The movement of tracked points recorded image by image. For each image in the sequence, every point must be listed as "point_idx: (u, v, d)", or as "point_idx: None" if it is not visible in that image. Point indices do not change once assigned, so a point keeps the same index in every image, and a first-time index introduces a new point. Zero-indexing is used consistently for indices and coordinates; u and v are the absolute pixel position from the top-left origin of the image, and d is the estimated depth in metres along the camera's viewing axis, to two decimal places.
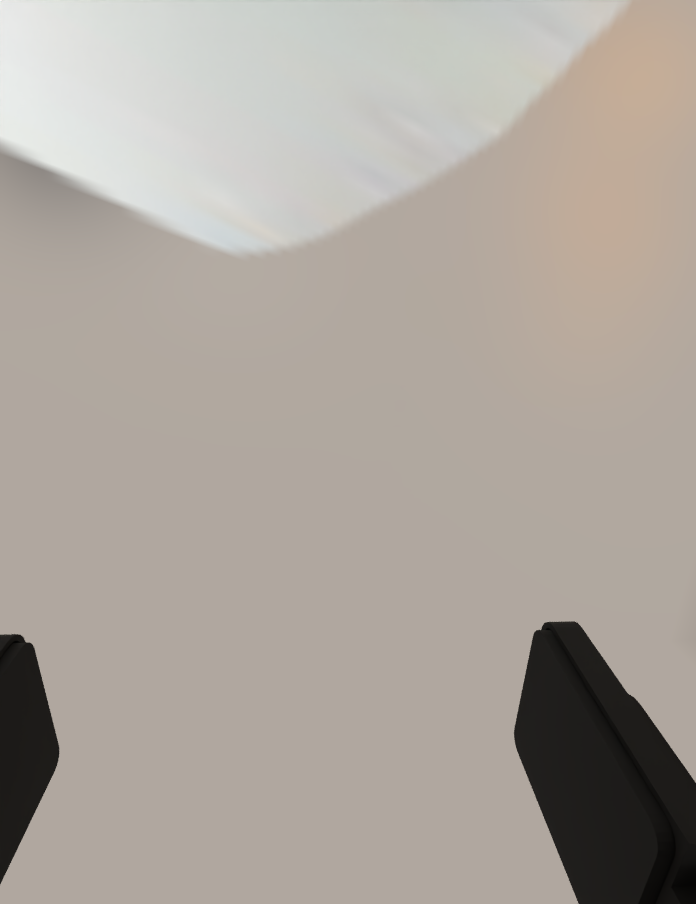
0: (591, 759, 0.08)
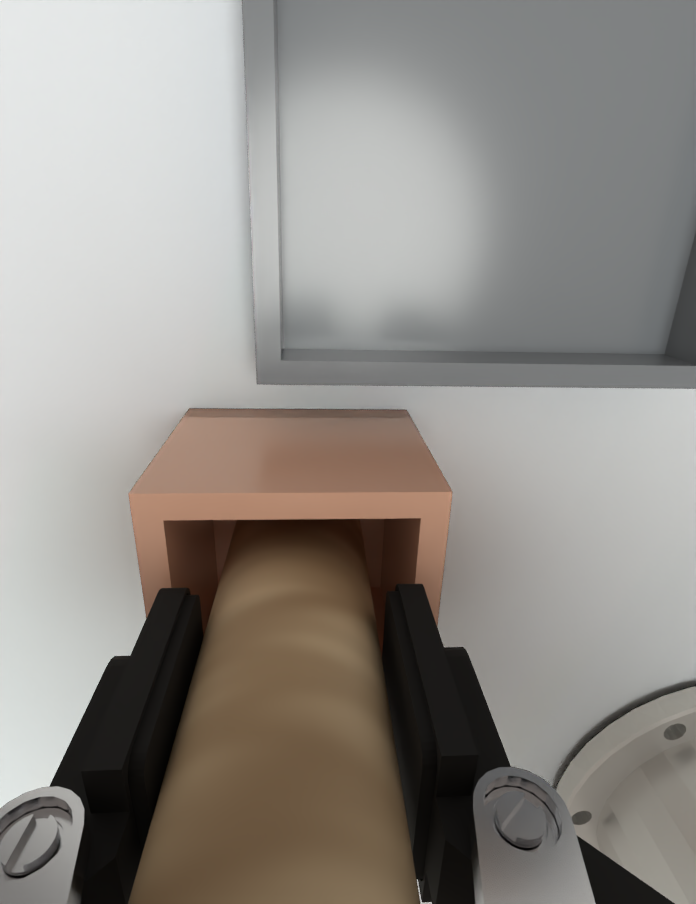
0: (403, 698, 0.09)
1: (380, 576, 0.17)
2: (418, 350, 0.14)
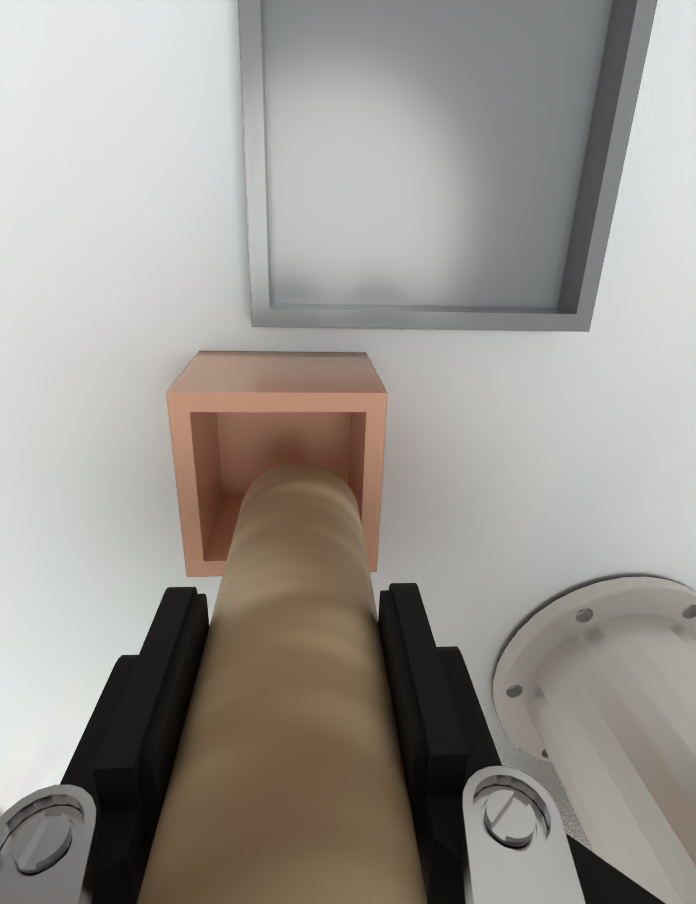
0: (396, 697, 0.09)
1: (348, 484, 0.22)
2: (372, 304, 0.19)
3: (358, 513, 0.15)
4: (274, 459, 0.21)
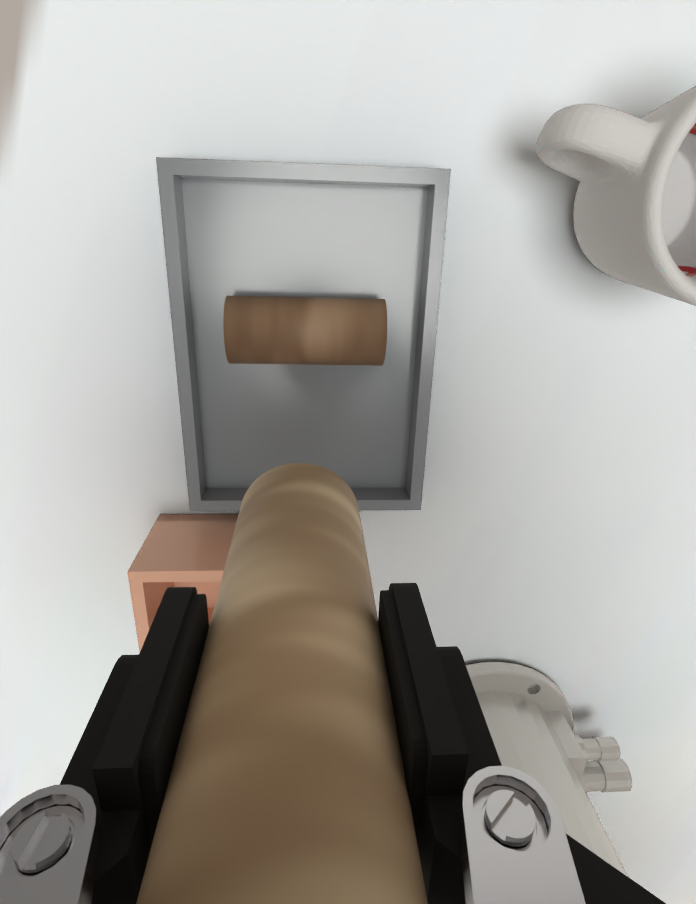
0: (396, 697, 0.09)
1: None
2: None
3: (358, 513, 0.15)
4: (212, 585, 0.30)
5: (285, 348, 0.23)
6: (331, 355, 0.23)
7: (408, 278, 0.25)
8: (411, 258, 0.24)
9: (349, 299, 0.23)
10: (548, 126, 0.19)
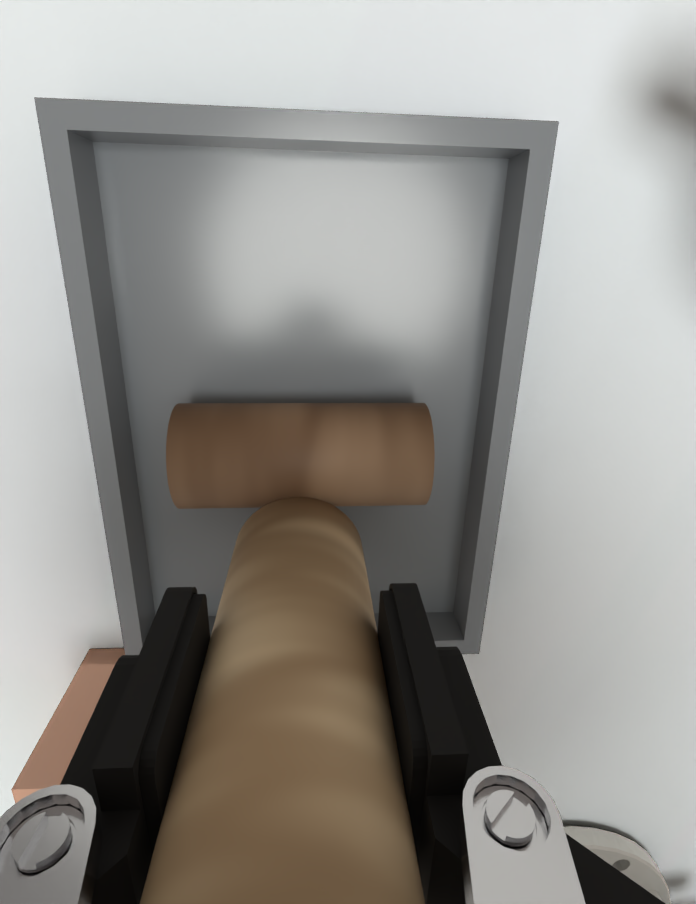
0: (396, 697, 0.09)
1: None
2: None
3: (362, 551, 0.14)
4: None
5: None
6: None
7: (470, 307, 0.15)
8: (476, 276, 0.15)
9: (374, 481, 0.14)
10: None
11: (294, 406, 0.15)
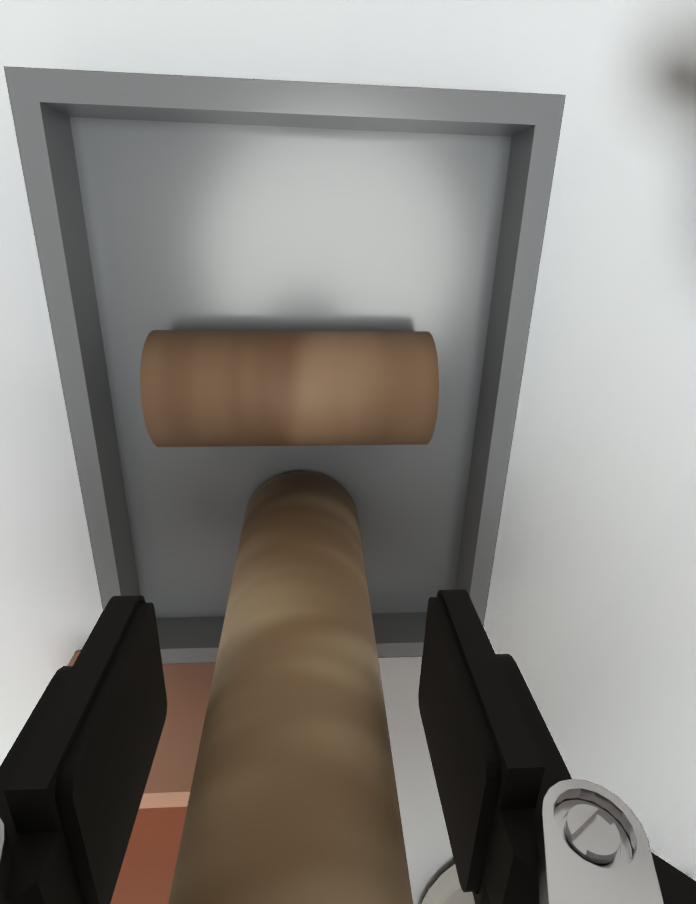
0: (455, 707, 0.09)
1: None
2: None
3: (357, 520, 0.16)
4: None
5: (258, 443, 0.13)
6: None
7: (470, 294, 0.15)
8: (477, 261, 0.14)
9: (371, 352, 0.13)
10: None
11: None
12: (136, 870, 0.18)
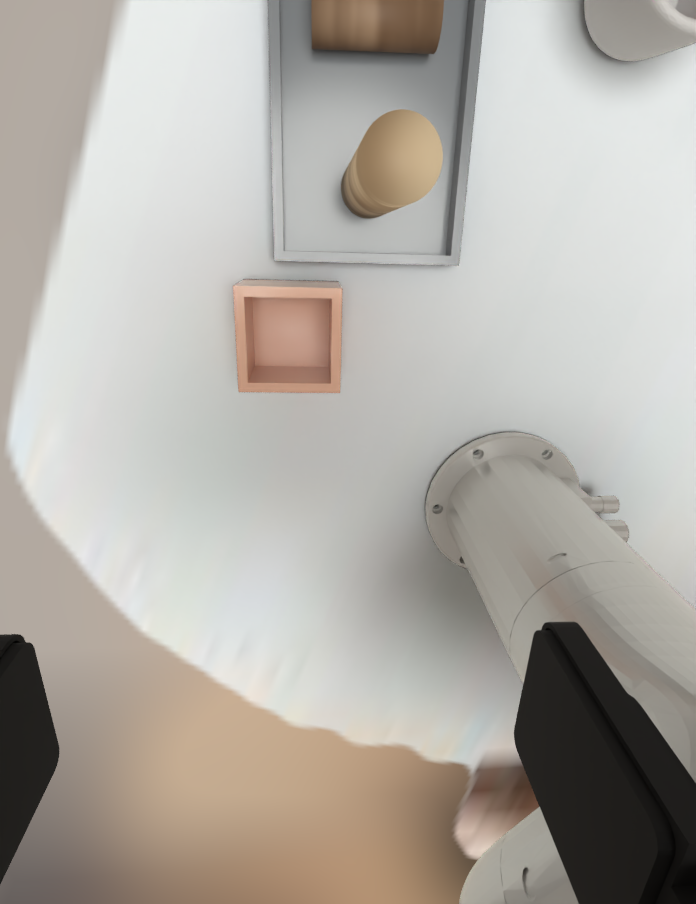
0: (591, 759, 0.08)
1: (328, 360, 0.37)
2: (340, 251, 0.35)
3: None
4: (285, 343, 0.37)
5: None
6: None
7: (453, 58, 0.31)
8: (456, 40, 0.31)
9: None
10: None
11: (370, 47, 0.29)
12: (282, 377, 0.34)
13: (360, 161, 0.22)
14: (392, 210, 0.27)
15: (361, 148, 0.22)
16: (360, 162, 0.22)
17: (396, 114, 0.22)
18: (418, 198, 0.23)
